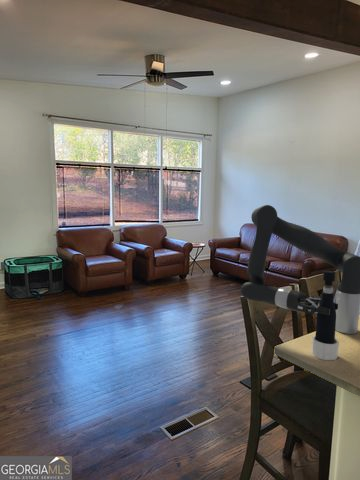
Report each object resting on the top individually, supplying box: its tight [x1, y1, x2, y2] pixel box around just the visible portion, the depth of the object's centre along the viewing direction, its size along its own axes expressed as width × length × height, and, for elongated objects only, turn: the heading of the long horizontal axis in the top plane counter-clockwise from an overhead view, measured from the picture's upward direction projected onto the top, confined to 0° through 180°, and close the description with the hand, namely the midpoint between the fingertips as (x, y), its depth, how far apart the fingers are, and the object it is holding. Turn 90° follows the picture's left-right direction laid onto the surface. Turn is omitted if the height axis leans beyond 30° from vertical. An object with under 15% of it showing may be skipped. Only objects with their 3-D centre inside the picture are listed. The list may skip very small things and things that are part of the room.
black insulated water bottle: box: [315, 269, 336, 344], centre depth 123 cm, size 6×6×30 cm
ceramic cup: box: [311, 334, 340, 361], centre depth 125 cm, size 8×8×6 cm
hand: (333, 309), depth 122 cm, fingers open, 8 cm apart
